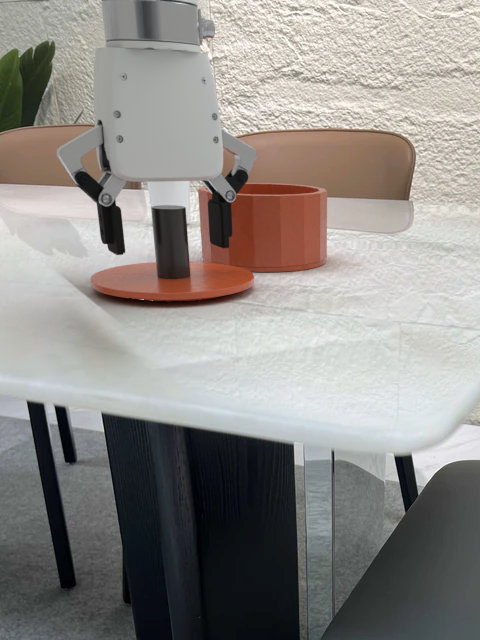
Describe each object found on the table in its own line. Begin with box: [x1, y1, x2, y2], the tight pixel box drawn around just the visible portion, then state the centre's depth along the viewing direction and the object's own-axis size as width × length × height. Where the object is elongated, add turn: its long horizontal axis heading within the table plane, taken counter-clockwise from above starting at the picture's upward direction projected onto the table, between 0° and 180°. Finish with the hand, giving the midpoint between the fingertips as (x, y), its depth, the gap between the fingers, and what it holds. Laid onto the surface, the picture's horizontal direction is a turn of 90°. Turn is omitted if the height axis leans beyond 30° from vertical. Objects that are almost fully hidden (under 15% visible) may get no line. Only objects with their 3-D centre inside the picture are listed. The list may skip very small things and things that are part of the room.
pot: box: [197, 182, 328, 273], centre depth 84 cm, size 14×14×8 cm
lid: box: [90, 205, 255, 303], centre depth 70 cm, size 15×15×7 cm
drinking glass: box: [146, 181, 192, 225], centre depth 106 cm, size 7×7×15 cm
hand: (169, 249), depth 70 cm, fingers open, 9 cm apart
